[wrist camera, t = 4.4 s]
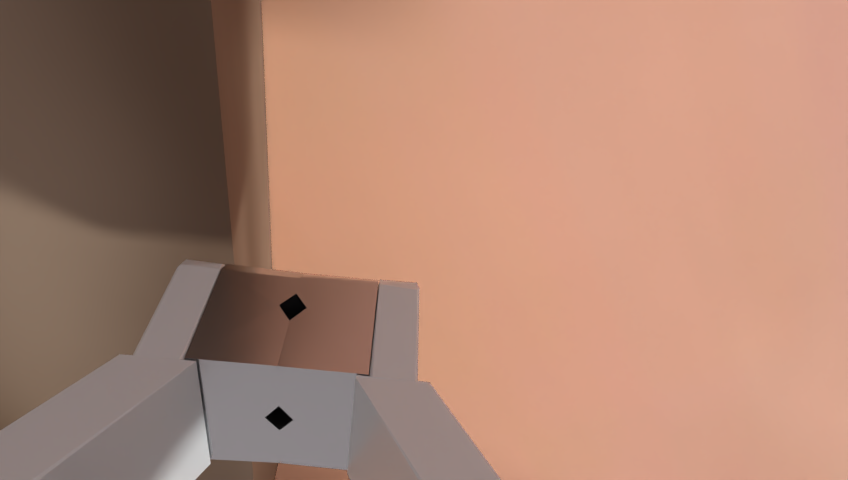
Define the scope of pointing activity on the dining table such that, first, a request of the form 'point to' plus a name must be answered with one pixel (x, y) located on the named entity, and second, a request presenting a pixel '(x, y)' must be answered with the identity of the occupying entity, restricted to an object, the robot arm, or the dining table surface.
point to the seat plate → (121, 177)
